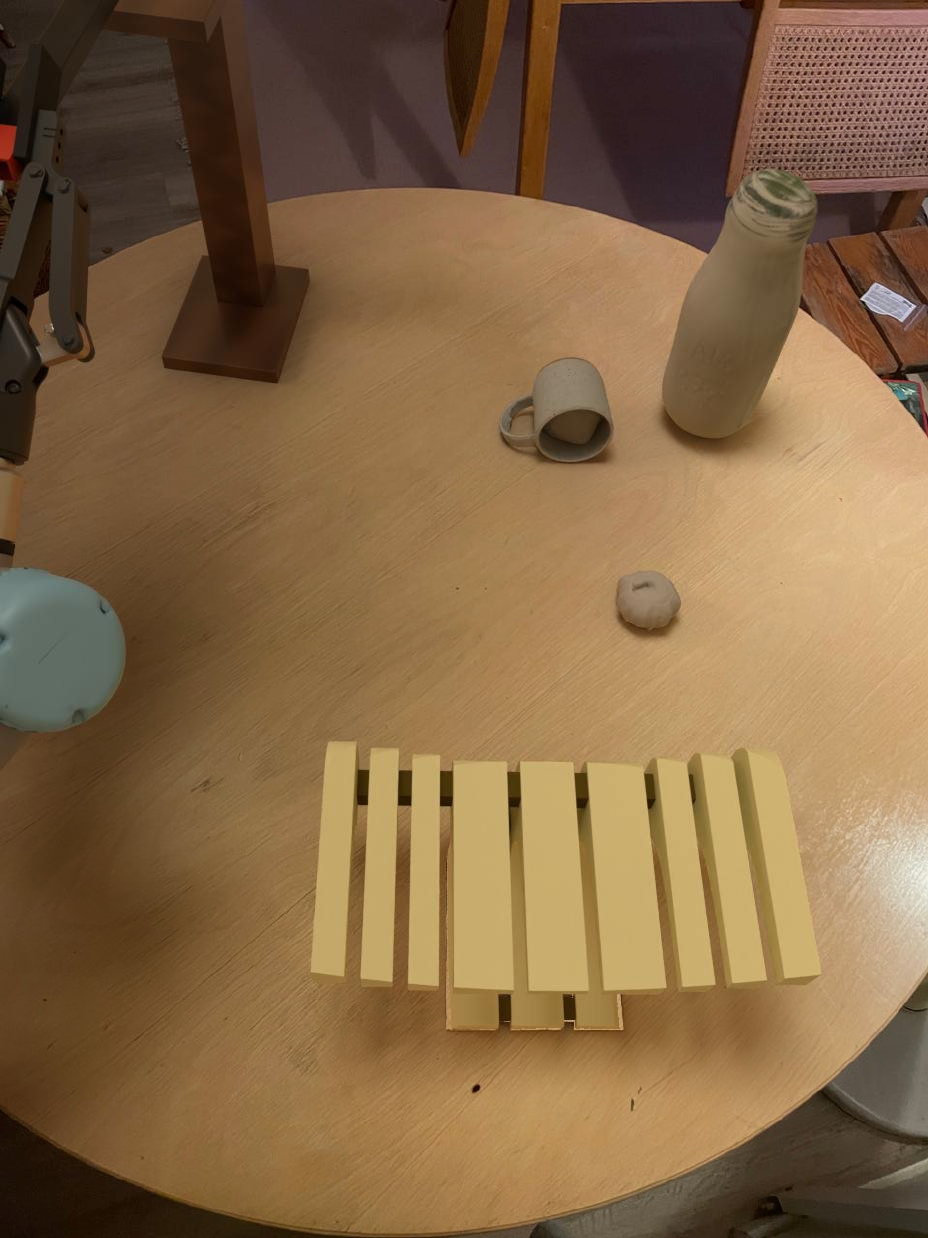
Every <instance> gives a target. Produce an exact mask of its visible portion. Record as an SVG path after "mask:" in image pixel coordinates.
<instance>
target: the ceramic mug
mask: <svg viewBox="0 0 928 1238" xmlns="http://www.w3.org/2000/svg"><path fill="white" fill-rule="evenodd" d="M530 407H532V408H533V428H534V431H533V433H532V434H523V435H520V434H512V433H511V431H510V430H511V429H510V428H511V424H512V422H513V418H514V417H515V416H516V414H518V413H519V412H521V411H524V410H525V409H527V408H530ZM499 429H500V433H501V434H502V436H503V438H504V439H505V441H506V442H507V443H508V444H509V445H511V446H513V447H516V448H531V447H532V448H533V447H536V448H537V449H538V450H539V452H540V453H541V454H542V455H544V456H545V457H547V458H548V459H551V460H553V461H557V462H560V463H578V462H582V461H586V460H589V459H591V458H593V457H596V456H598V455H599V454H601V453H602V452H603V451H604V450H605V449H606V448H607V447H608V445H609V444H610V442H611V441H612V439H613V435H614V429H615V426H614V422H613V417H612V412H611V408H610V403H609V400H608V396H607V390H606V387H605V383H604V379H603V376H602V375H601V373H600V371H599V369H598V368H597V367H596V366H595V365H594V364H593V363H592V362H591V361H589V360H587V359H584V358H580V357H575V356H574V357H572V356H570V357H569V356H567V357H562V358H558V359H554V360H553V361H551V362H549V363H546V364H545V366H543V367H542V368H541V369H540V370H539V371H538V373H537V374H536V377H535V379H534V382H533V387H532V393H529V394H526V395H522V396H519V397H518V398H516V399H514V400H512V401H511V402H509V404H507V406H506V407H505V408H504V410H503V411H502V413H501V415H500V418H499Z"/></svg>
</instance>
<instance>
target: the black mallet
mask: <svg viewBox="0 0 928 1238" xmlns="http://www.w3.org/2000/svg"><path fill="white" fill-rule="evenodd" d="M118 2H119V0H63V1H62V2H61V4H60V6H59V7H58V8H57V10H56V11H55V13H54V15H53V17H52V18H51V20H50V21H49V23H48V24H47V26H46V28H45V29H44V31H43V32H42V33H41V35H40V37H39V38H38V41H37V42H36V44H42V45H43V46H44V47H45V48H46V50H47V51H48V53H49V54H50V55H51V57H52V58H53V60H54V61H55V62H56V64H57V65H58V66H59V68H60V69H61V71H62V77H61V83H60V90H59V97H58V103H57V109H58V108H59V107H60V105H61V103H62V101H63V99H64V98H65V96H66V94H67V92H68V91H69V90H70V87H71V86H72V84H73V82H74V81H75V79H76V77H77V75H78V73H79V72H80V69H81V68H82V66H83V64H85V61H86V59H87V57H88V56H89V54H90V52H91V51H92V49H93V47H94V45H95V44H96V42H97V41H98V38H99V36H101V33H102V31H104V30H103V28H104V26H105V24H106V23H107V21H108V19H109V17H110V16H111V14H112V12H113V10H114V9H115V7H116V5H117V4H118ZM26 64H27V59H26V60H25V61H24V62H23V64H22V66H21V68H20V69H19V70H18V72H17V74H16V75H15V77H14V79H13V80H12V81H11V84H10V85H9V86H8V88H7V90H6V91H5V93H4V95H2V99H1V101H0V182H9V183H16V184H17V183H18V182H19V181H20V179H21V178H22V175H23V172H24V168H23V167H22V165H21V164H20V163H19V162H18V161H17V160H16V159H15V158H14V157H13V148H14V142H15V135H16V129H17V122H18V116H19V109H20V103H21V96H22V90H23V83H24V77H25V70H26Z"/></svg>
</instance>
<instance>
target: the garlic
mask: <svg viewBox="0 0 928 1238" xmlns="http://www.w3.org/2000/svg"><path fill="white" fill-rule="evenodd" d="M616 596H617V599H616V608H617V610H618V611H619V612H620V614H621V616H622V617H623V619H624V621H625V622H626V623H630V624H632V625H634V626H636V627H637V628H644V629H647V630H648V631H651V630H653V629H655V628H663V627H665V626H667V625H668V624H669V623H670V621H671V619H672V618H673V617H675V616H676V615H677V614H678V613H679V612H680V609H681V607H682V600H681V597H680V595H679V592H678V591H677V589H676V587H675V585H674V583H673V582H672V580H670V579H668V578H667V576H666V575H664V573H662V572H659V571H656V570H647V571H644V570H638V571H636V572H634V573H632V574H627V575H626V574H625V575H623V576H620V577H619V579H618V581H617V585H616Z"/></svg>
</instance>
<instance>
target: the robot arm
mask: <svg viewBox="0 0 928 1238" xmlns="http://www.w3.org/2000/svg"><path fill="white" fill-rule="evenodd" d="M26 57H27V58H26V60H27V64H26V70H25V77H24V83H23V90H22V96H21V103H20V109H19V116H18V122H17V129H16V135H15V142H14V148H13V157H14V158H15V159H16V160H17V161H18V162H19V163H20V164H21V165H22V167H23V168H24V171H23V173H22V175H21V178H20V182H19V186H18V189H17V192H16V196H15V198H14V199H15V200H14V203H13V206H12V210H11V214H10V217H9V219H8V224H7V227H6V230H5V233H4V237H3V241H2V244H1V248H0V772H1V771H2V770H3V769H4V768H5V767H6V765H7V764H8V763H9V762H10V761H11V760H12V759H13V758H14V757H15V756H16V755H17V754H18V752H19V751H20V750H21V749H22V748H23V747H24V745H25V744H26V743H27V742H28V741H29V740H30V739H31V737H32V736H33V735H34V734H36V733H38V734H42V733H54V732H62V731H66V730H68V729H71V728H74V727H77V726H79V725H80V724H83V723H85V722H87V721H89V720H91V718H94V717H96V715H98V714H99V713H101V711H102V710H103V709H104V708H105V707H106V706H107V705H108V703H110V701H111V700H112V698H113V697H114V695H115V694H116V691H117V690H118V688H119V686H120V683H121V681H122V678H123V675H124V671H125V666H126V660H127V659H126V658H127V647H126V646H127V645H126V637H125V632H124V628H123V625H122V623H121V621H120V619H119V616H118V615H117V613H116V611H115V609H114V608H113V607H112V605H111V604H110V603H109V601H108V599H106V598H105V597H104V596H103V595H101V594H100V592H98V591H97V590H95V589H94V588H92V587H91V586H89V585H88V584H86V583H84V582H81V581H79V580H76V579H72V578H68V577H65V576H60V575H58V574H57V575H56V574H52V573H50V572H49V570H45V569H40V568H35V567H32V568H31V567H27V566H25V567H24V566H22V567H21V566H19V567H13V563H14V555H15V550H16V544H15V543H17V538H18V530H19V526H20V525H19V524H20V517H21V510H22V505H23V504H22V503H23V498H24V492H25V485H26V479H25V478H24V477H23V475H22V474H21V473H20V472H17V471H16V469H17V467H21V466H24V465H25V462H28V461H29V460H30V454H31V447H32V440H33V434H34V427H35V421H36V414H37V394H38V392H39V389H40V387H41V385H42V384H43V382H44V381H45V380H46V378H47V377H48V375H49V371H50V368H51V367H54V366H57V365H60V364H63V363H66V362H69V361H71V360H75V359H76V360H77V361H78V362H80V363H84V364H85V363H90V362H91V361H92V360H93V359H94V358H95V355H96V348H95V345H94V343H93V340H92V339H93V338H92V337H91V333H90V329H89V327H88V324H87V309H88V308H87V307H88V288H89V287H88V285H89V284H88V283H89V263H90V262H89V261H90V241H91V240H90V239H91V238H90V237H91V236H90V235H91V217H92V215H91V212H92V204H91V201H90V199H89V198H88V196H87V195H86V194H85V193H84V192H83V191H82V189H81V188H80V187H79V186H78V185H77V184H76V183H75V181H74V180H73V179H71V178H70V177H68V176H62V171H63V165H64V163H63V162H64V157H65V149H66V145H67V143H66V142H67V138H68V129H67V126H66V123H65V121H64V120H63V119H62V118H61V117H60V115H59V114H58V112H57V110H58V108H57V103H58V97H59V90H60V83H61V77H62V71H61V69H60V68H59V66H58V65H57V64H56V62H55V61H54V60H53V58H52V57H51V55H50V54H49V53H48V51H47V50H46V48H45V47H44V46H43V45H42V44H37V43H33V42H30V43H29V45H28V51H27V56H26ZM7 66H8V64H7V63H6V62H5V61H4V59H3V58H2V57H1V56H0V101H1V99H2V98H3V92H4V86H5V78H6V73H7ZM49 240H50V257H49V258H50V259H49V260H50V261H49V280H48V281H49V284H48V313H49V318H50V322H47V323H45V325H44V338H43V341H42V342H41V343H40V341H39V339H38V337H37V336H36V333H35V332H34V330H33V328H32V326H31V324H30V322H31V318H32V314H33V311H34V308H35V297H34V292H35V289H36V286H37V282H38V279H39V275H40V271H41V269H42V264H43V262H44V258H45V254H46V250H47V247H48V244H49Z"/></svg>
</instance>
